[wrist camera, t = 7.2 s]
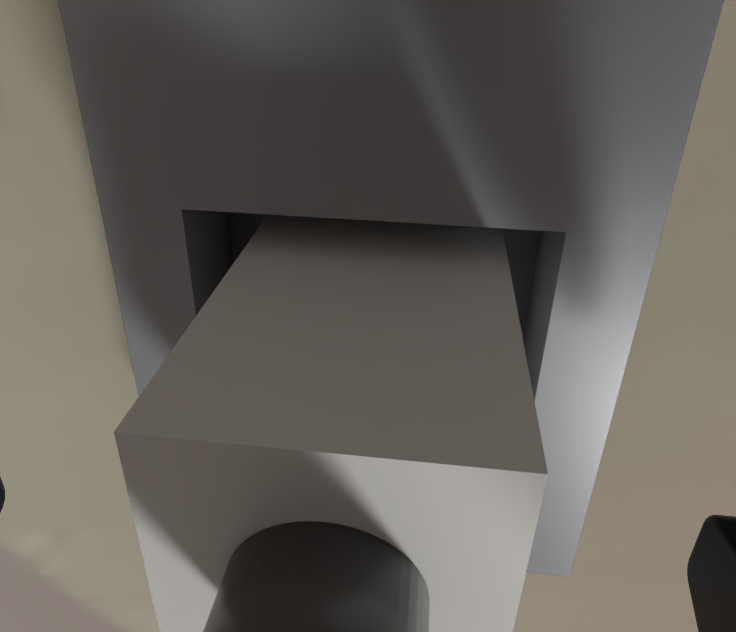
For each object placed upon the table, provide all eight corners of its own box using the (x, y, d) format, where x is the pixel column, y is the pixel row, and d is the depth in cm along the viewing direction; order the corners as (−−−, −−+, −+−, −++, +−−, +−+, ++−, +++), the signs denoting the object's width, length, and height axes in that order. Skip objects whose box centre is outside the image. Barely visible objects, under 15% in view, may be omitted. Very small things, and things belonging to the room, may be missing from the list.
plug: (476, 410, 13) (508, 1010, 5) (281, 392, 13) (70, 935, 6) (501, 224, 11) (605, 780, 4) (271, 209, 11) (-69, 688, 4)
